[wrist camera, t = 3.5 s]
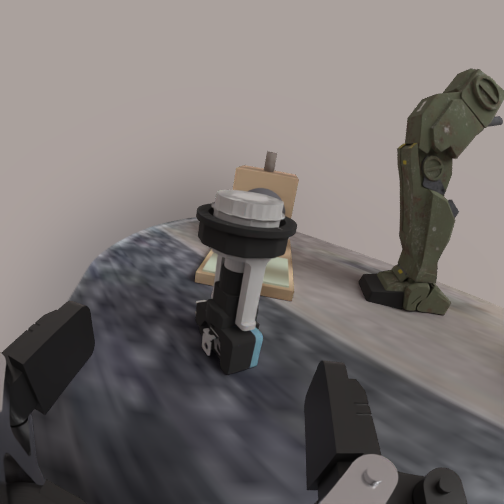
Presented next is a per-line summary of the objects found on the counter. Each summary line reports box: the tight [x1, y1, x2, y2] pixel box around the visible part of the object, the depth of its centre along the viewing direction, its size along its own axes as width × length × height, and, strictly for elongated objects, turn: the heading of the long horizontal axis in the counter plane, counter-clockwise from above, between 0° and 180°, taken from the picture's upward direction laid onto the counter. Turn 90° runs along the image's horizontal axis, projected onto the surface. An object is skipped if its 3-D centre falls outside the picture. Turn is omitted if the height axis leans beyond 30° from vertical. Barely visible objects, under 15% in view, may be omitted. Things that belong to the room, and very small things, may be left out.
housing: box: [195, 152, 299, 301], centre depth 32 cm, size 16×9×12 cm, turn 174°
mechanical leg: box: [359, 69, 504, 315], centre depth 26 cm, size 14×7×30 cm, turn 81°
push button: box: [195, 190, 297, 375], centre depth 17 cm, size 7×5×10 cm
